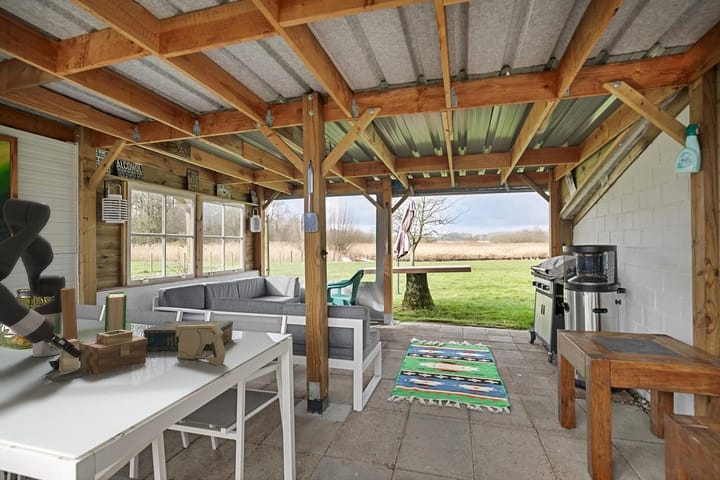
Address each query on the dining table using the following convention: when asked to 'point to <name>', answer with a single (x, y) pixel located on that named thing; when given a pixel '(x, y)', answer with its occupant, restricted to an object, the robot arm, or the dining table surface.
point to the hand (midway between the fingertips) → (76, 354)
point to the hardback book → (115, 311)
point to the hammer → (68, 318)
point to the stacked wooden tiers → (113, 351)
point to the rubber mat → (68, 375)
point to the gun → (200, 342)
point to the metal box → (166, 339)
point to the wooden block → (69, 358)
